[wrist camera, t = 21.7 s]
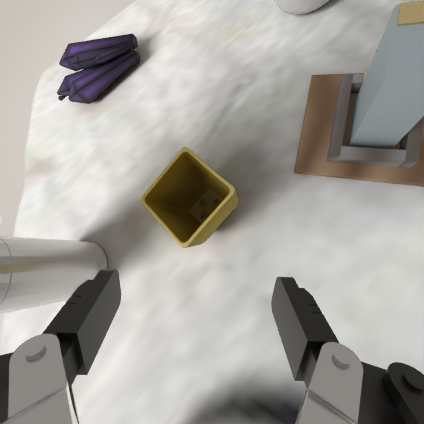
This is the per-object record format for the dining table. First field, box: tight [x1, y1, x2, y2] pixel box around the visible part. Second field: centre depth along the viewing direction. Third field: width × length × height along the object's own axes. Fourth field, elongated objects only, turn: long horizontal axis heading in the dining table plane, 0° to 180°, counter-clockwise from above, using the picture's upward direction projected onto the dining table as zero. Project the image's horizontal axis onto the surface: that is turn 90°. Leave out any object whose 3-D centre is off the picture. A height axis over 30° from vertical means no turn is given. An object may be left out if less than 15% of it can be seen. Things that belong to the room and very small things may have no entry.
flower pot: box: [141, 147, 239, 248], centre depth 30 cm, size 9×9×9 cm
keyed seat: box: [294, 72, 424, 186], centre depth 28 cm, size 16×14×3 cm
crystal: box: [57, 34, 140, 104], centre depth 44 cm, size 7×12×20 cm
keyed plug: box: [348, 1, 424, 149], centre depth 22 cm, size 4×6×12 cm
